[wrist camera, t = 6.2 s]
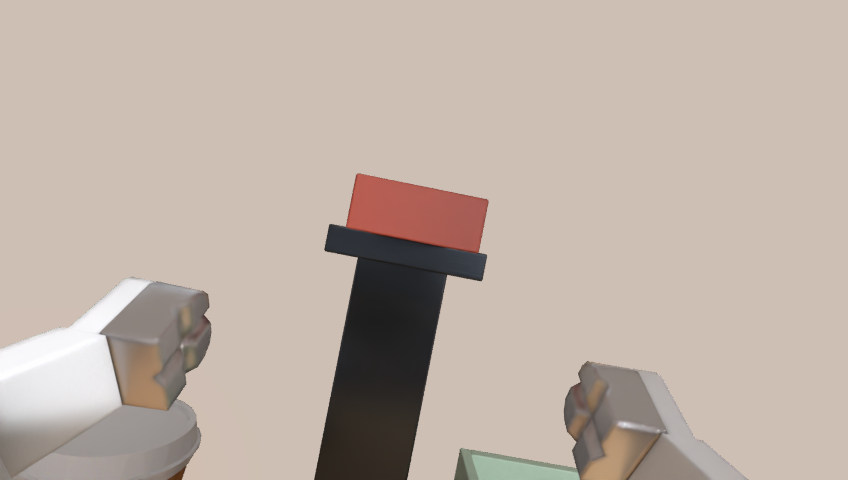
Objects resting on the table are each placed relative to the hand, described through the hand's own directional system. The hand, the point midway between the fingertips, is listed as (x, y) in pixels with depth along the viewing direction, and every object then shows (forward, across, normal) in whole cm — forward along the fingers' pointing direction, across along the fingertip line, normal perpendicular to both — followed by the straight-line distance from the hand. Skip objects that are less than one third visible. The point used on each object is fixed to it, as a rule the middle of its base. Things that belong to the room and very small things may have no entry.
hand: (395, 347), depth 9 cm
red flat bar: (+11, 0, +4) cm, 11 cm away
